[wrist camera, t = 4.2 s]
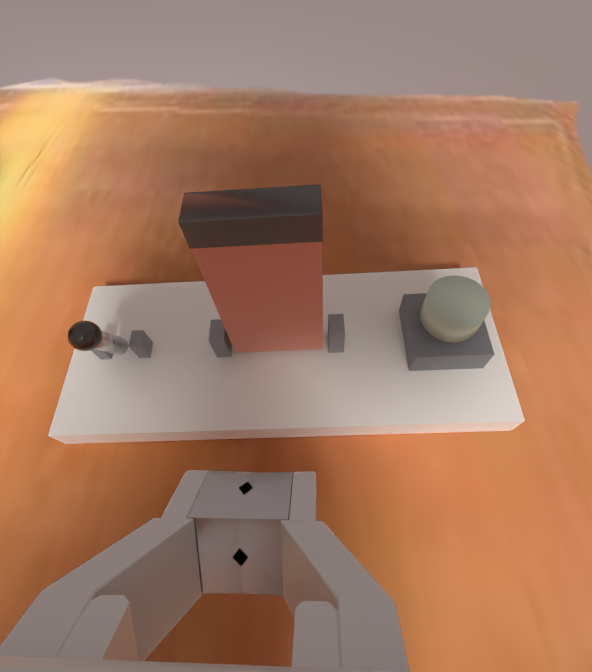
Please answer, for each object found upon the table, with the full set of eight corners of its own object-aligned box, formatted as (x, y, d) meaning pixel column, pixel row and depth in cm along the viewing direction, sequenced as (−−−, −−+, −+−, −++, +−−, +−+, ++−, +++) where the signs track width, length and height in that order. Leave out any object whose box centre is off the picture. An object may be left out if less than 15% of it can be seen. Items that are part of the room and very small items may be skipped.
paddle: (323, 350, 27) (322, 214, 16) (235, 353, 27) (178, 222, 16) (322, 327, 27) (320, 184, 17) (236, 331, 28) (184, 193, 17)
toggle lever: (132, 358, 27) (90, 348, 22) (106, 359, 27) (59, 349, 22) (133, 332, 27) (92, 317, 22) (108, 333, 27) (61, 318, 22)
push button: (485, 341, 24) (498, 324, 22) (425, 344, 24) (433, 327, 22) (471, 293, 26) (482, 273, 24) (415, 295, 26) (422, 276, 24)
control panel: (511, 430, 26) (543, 407, 22) (65, 444, 27) (23, 424, 23) (468, 283, 32) (488, 245, 28) (105, 300, 33) (77, 267, 29)
